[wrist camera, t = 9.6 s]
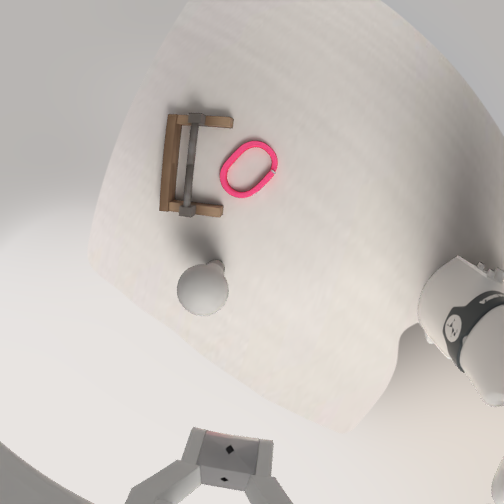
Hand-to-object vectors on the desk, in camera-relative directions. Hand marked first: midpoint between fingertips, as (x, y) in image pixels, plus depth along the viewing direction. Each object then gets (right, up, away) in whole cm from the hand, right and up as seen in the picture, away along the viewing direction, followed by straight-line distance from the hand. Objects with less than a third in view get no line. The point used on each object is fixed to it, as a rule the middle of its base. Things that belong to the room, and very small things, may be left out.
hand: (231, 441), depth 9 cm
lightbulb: (-4, +5, +32) cm, 33 cm away
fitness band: (0, +18, +28) cm, 33 cm away
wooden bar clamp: (-6, +19, +27) cm, 34 cm away
